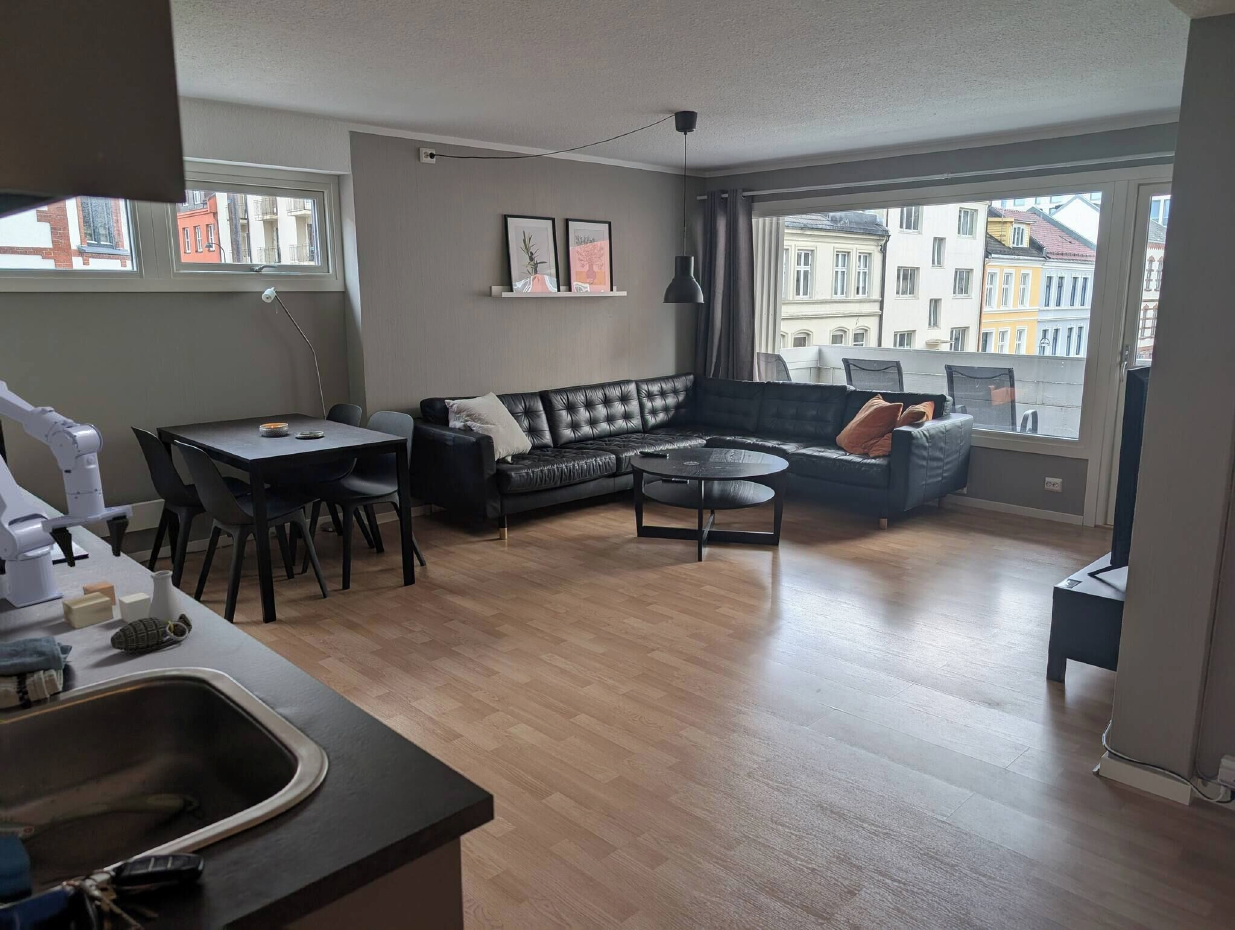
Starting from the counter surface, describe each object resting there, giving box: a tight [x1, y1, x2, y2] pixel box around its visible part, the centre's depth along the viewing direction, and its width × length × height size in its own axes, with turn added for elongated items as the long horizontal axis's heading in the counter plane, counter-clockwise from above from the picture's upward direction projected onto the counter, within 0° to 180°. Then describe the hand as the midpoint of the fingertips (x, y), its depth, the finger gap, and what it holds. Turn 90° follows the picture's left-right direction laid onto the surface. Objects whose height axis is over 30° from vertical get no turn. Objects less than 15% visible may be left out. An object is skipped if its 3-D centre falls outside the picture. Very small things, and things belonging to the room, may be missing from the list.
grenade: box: [110, 614, 193, 656], centre depth 142 cm, size 6×5×12 cm
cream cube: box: [118, 591, 152, 624], centre depth 155 cm, size 4×4×4 cm
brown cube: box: [82, 580, 117, 606], centre depth 162 cm, size 4×4×4 cm
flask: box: [148, 570, 193, 623], centre depth 150 cm, size 7×7×10 cm
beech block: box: [61, 592, 114, 630], centre depth 155 cm, size 6×6×4 cm
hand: (94, 560), depth 160 cm, fingers open, 7 cm apart
